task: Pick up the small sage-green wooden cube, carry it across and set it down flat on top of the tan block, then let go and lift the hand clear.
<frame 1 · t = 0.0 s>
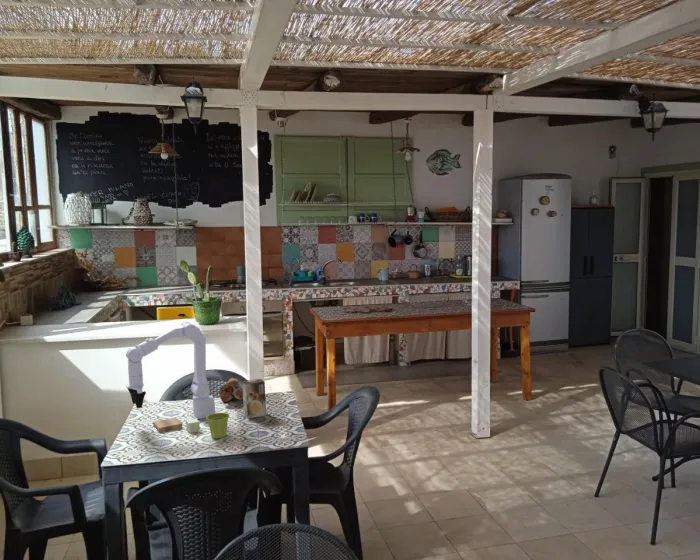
hand: (137, 405, 267), 10 cm above the table, tool pointing down, fingers open, 7 cm apart
plant pot: (218, 436, 256), on the table
seed pod: (231, 400, 306), on the table
tan block: (167, 428, 269), on the table
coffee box: (255, 415, 282), on the table
sage cube: (193, 430, 263), on the table
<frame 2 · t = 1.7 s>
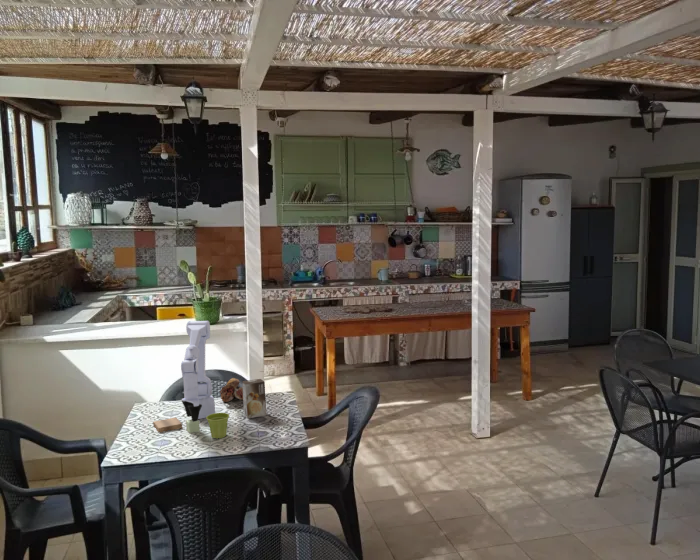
hand: (192, 418, 262), 5 cm above the table, tool pointing down, fingers open, 7 cm apart
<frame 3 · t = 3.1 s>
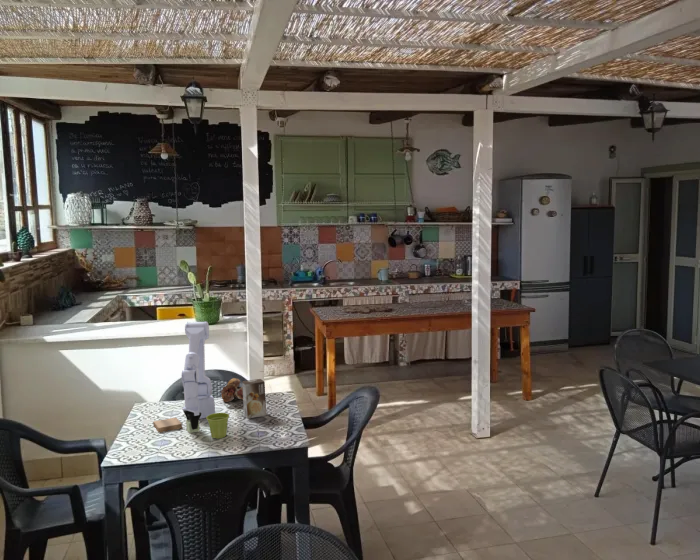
hand: (192, 427, 263), 1 cm above the table, tool pointing down, fingers closed on sage cube, 4 cm apart
sage cube: (193, 430, 263), on the table, touching gripper
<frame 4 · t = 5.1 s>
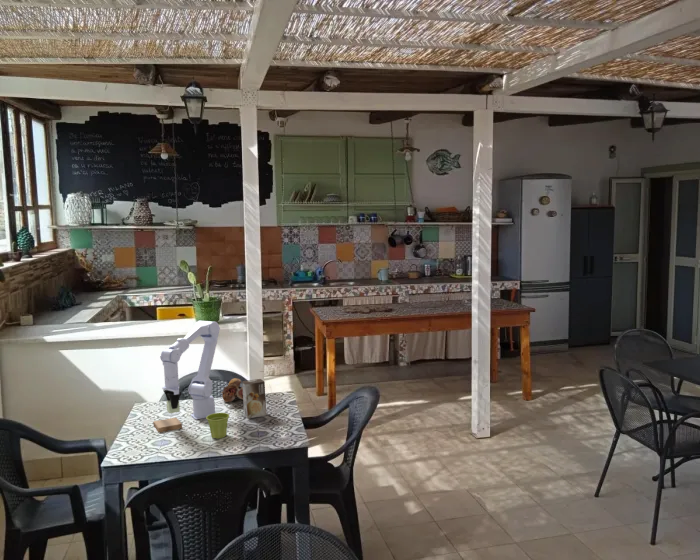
hand: (173, 406, 266), 9 cm above the table, tool pointing down, fingers closed on sage cube, 4 cm apart
sage cube: (173, 411, 266), point 8 cm above the table, touching gripper
when the fingers open (5 cm above the table, at t = 7.1 s): sage cube drops 1 cm, resting on tan block.
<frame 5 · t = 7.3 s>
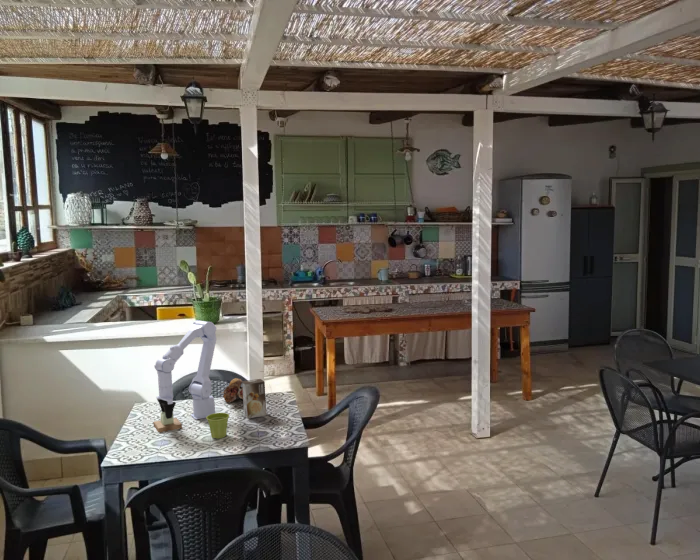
hand: (167, 416, 268), 5 cm above the table, tool pointing down, fingers open, 6 cm apart
tan block: (167, 428, 269), on the table, touching sage cube
sage cube: (167, 422, 268), point 2 cm above the table, touching tan block
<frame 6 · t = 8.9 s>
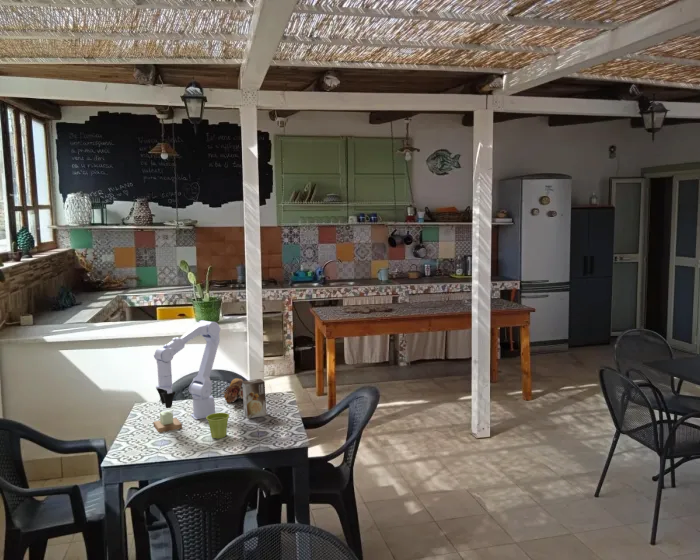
hand: (166, 405, 267), 10 cm above the table, tool pointing down, fingers open, 7 cm apart
tan block: (167, 428, 269), on the table
sage cube: (166, 422, 268), point 2 cm above the table
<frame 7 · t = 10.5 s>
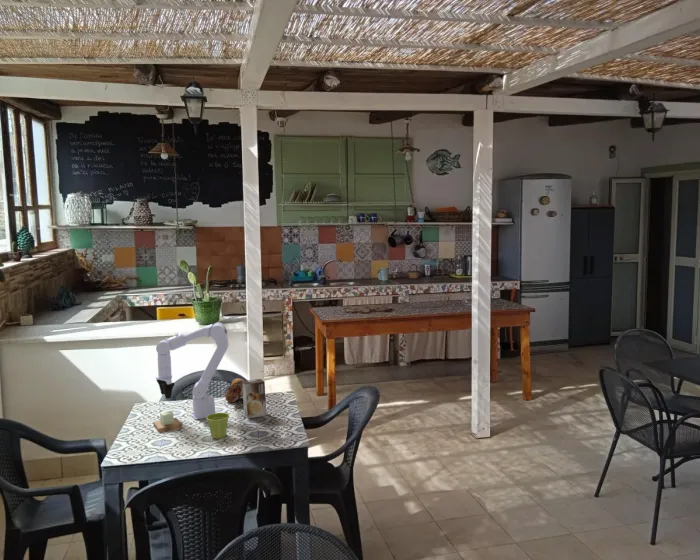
hand: (166, 396, 279), 10 cm above the table, tool pointing down, fingers open, 7 cm apart
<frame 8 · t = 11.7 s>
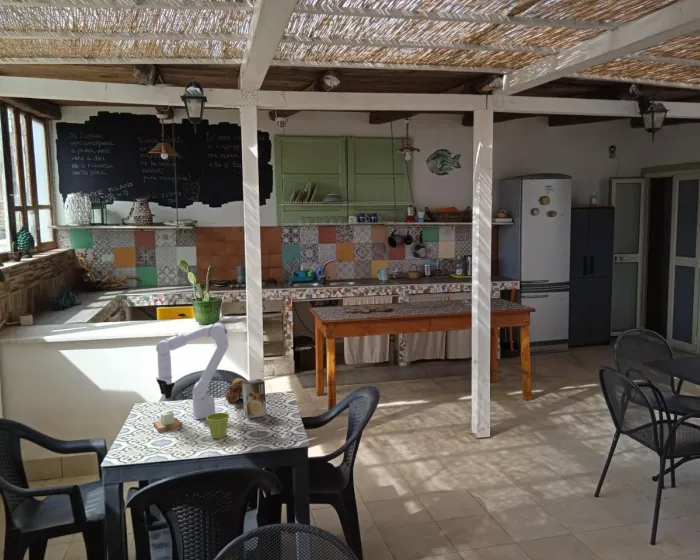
hand: (166, 396, 279), 10 cm above the table, tool pointing down, fingers open, 7 cm apart
at the end: sage cube 0.1 cm off-centre on the tan block, point 2.5 cm above the tan block's base; sage cube tilted 1°; sage cube touching nothing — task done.
